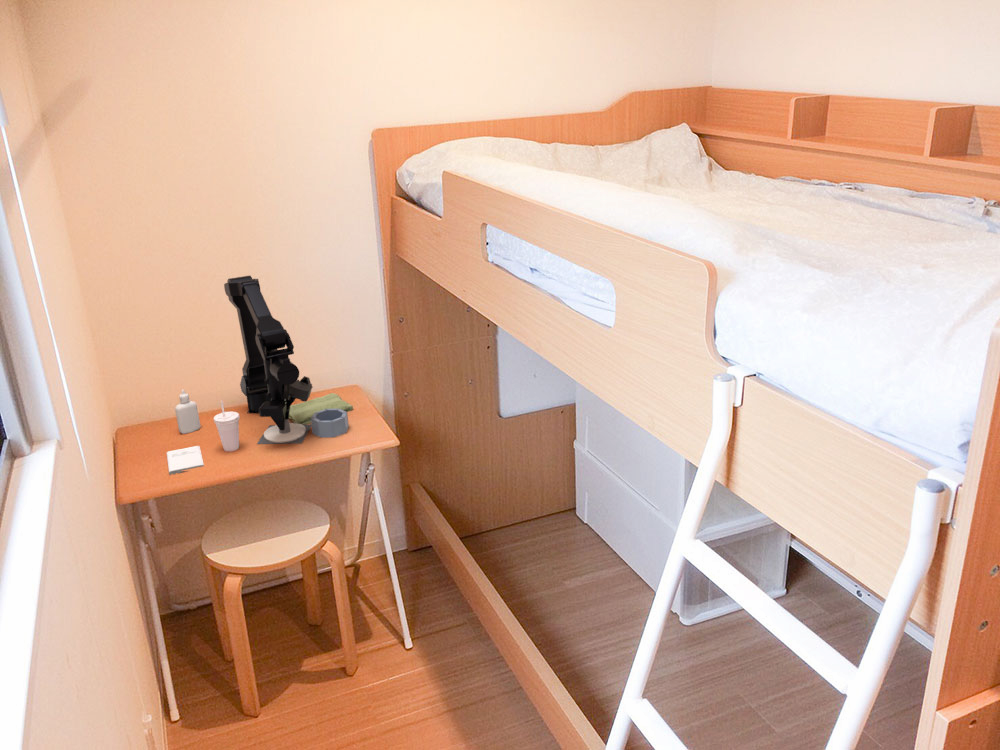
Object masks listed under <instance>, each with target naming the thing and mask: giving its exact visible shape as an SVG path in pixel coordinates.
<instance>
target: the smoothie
mask: <svg viewBox="0 0 1000 750" xmlns="http://www.w3.org/2000/svg"><path fill="white" fill-rule="evenodd" d="M220 405H221V412H220V413H218V414H216V415H214V417H213V423H214V424H215V426H216V428H217V432H218V436H219V438H220V441H221V444H222V447H223V450H224V452H233V451H234V452H235V451H237V450H238V449H239V448H240V430H239V429H240V427H239V426H240V424H239V420H240V419H241V418H240V413H238V412H236V411H225V406H224V401H223V400H220Z"/></svg>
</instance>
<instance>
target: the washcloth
mask: <svg viewBox="0 0 1000 750" xmlns="http://www.w3.org/2000/svg"><path fill="white" fill-rule="evenodd" d="M324 409H341V410H343V411H346V412H347V413H348V412H351V411H353V410H354V406H353V405H352V404H350V403H349V402H347V401H346V400H342V397H341V396H340V395H338V394H337V393H335V392H333V393H329V394H325V395H323V396H319V397H315V398H312V399H310V400H307V401H301V402H298V403H296V404H291V407H290V413H289V420H291V421H292V423H298V424H301V425H305V424H311V417H312V416H313V414H314V413H315V412H318V411H321V410H324Z"/></svg>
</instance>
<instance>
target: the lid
mask: <svg viewBox="0 0 1000 750" xmlns="http://www.w3.org/2000/svg"><path fill="white" fill-rule="evenodd" d="M274 425H275V426H272V427H270V428H268V427H267V428H268V429H267V428H266V430H264V432H263V434H264V438H265V439H266V440H267V441H269V442H274V443H284V442H290V441H294V440H297V439H299V438H301V437H302V436H304V435H305V433H306V428H305V426H303V425H302V424H298V423H295V422H290V419H289V420H288V419H285V430H280V429H279V428H278V426H277V425H276V424H274Z"/></svg>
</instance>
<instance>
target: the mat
mask: <svg viewBox="0 0 1000 750" xmlns="http://www.w3.org/2000/svg"><path fill="white" fill-rule="evenodd" d="M275 425H276V424H270V425H269V426H268V427H267V428H266V430H267V429H268V428H270V427H272V426H275ZM303 426H305V428H306V433H305V435H304V436H302V437H301V438H299V439H297V440H294V441H290V442H284V443H274V442H269V441H267V440H266V439H265V438H264V433H263V434H262V436H261V437H260V438H259V440H258V441H257V443H256V445H291V444H293V445H294V444H295V445H296V444H301V445H302V444H303V443H304V440H305V438H306V437H307V435H308V433H309V431H310V429H312V425H311V423H309V424H304V425H303Z"/></svg>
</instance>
